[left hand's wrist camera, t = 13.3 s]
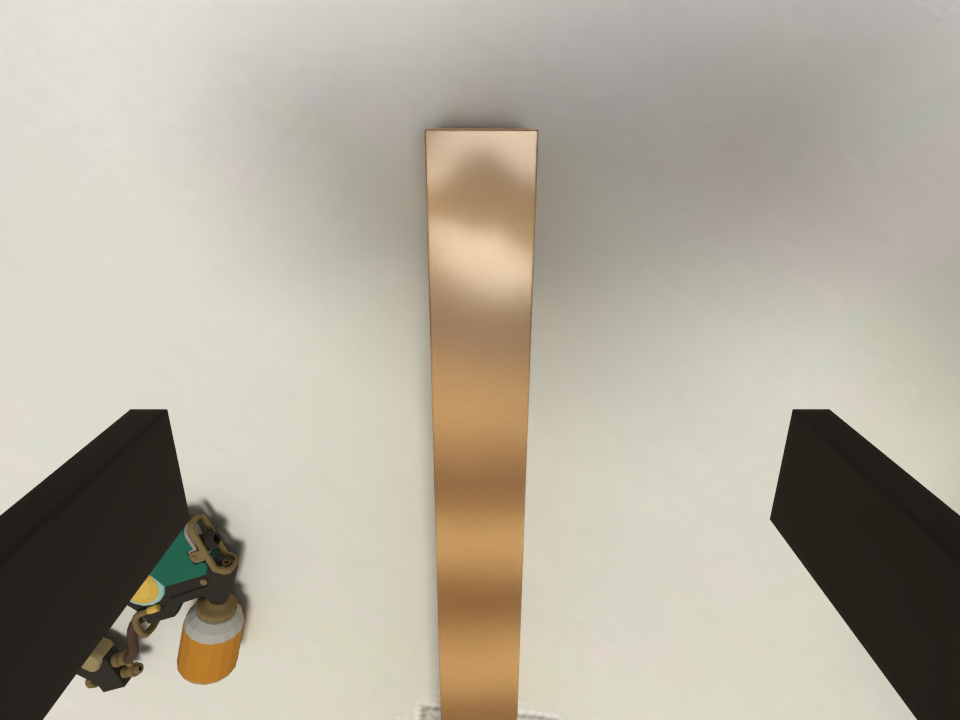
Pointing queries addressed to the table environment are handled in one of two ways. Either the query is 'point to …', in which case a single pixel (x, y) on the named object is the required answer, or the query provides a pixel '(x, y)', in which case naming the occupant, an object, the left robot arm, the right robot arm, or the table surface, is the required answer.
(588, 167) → the table surface
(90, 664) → the spray gun
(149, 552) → the left robot arm
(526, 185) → the bar
